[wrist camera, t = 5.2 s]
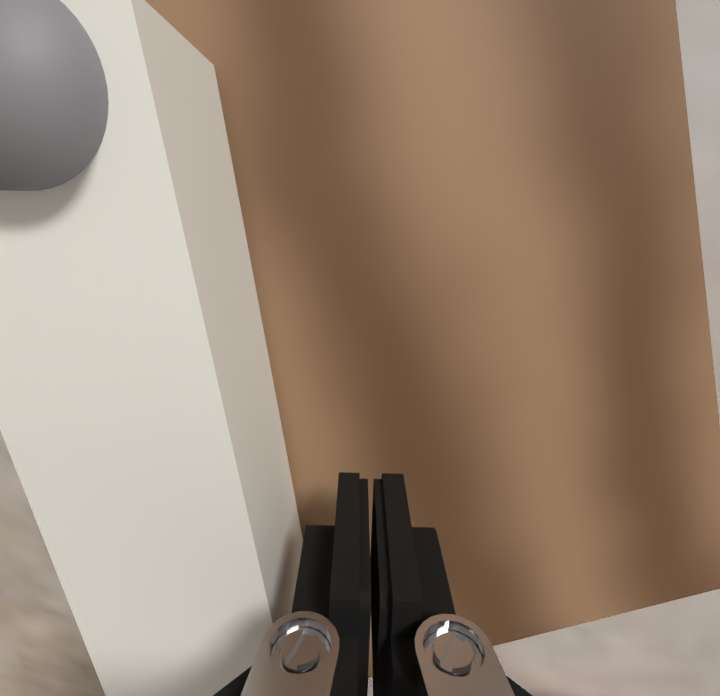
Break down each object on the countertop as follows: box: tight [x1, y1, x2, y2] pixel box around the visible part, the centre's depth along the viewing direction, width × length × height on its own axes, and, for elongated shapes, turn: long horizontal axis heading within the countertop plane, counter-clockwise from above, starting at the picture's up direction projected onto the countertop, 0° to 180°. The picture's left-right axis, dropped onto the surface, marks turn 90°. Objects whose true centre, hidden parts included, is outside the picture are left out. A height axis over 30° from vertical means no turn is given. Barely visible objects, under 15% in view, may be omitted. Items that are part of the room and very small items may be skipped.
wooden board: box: [145, 0, 720, 678], centre depth 14 cm, size 16×22×3 cm
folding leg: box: [0, 0, 303, 696], centre depth 11 cm, size 19×4×5 cm, turn 7°
